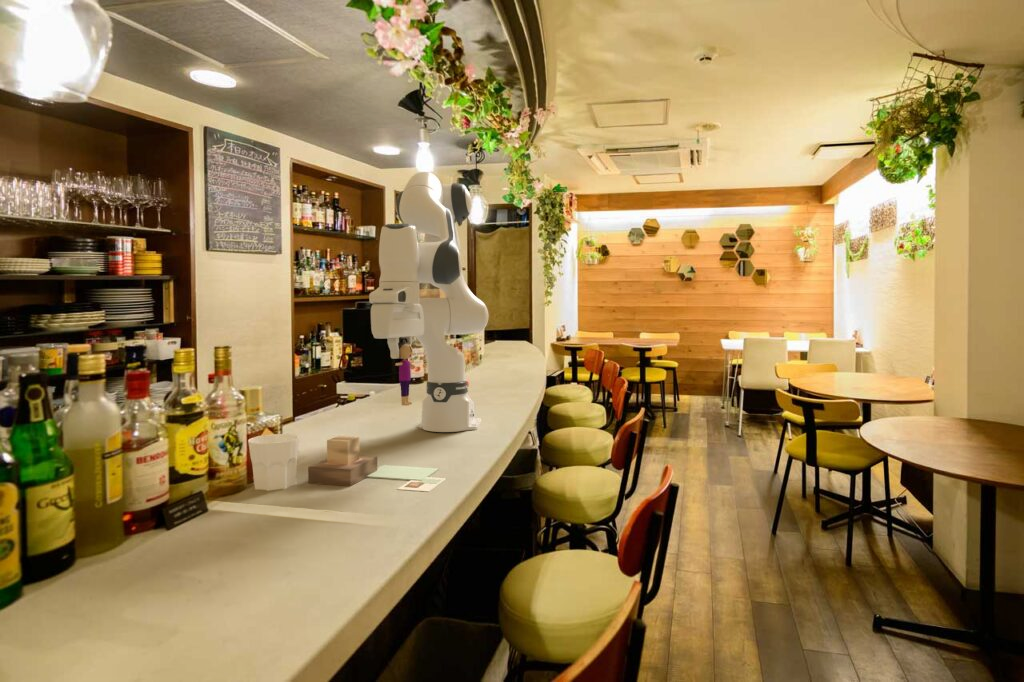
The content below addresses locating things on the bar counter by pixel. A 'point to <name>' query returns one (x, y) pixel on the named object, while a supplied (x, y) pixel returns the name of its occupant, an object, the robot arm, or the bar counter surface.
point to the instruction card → (422, 484)
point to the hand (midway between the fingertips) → (400, 357)
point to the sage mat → (402, 472)
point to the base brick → (342, 471)
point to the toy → (405, 370)
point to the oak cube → (343, 450)
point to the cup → (274, 460)
